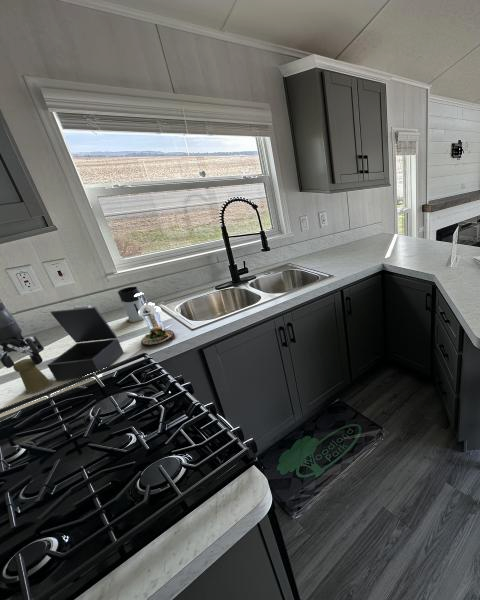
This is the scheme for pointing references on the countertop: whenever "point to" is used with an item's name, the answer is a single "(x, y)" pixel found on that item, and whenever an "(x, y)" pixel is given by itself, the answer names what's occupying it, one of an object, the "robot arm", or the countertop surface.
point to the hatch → (84, 324)
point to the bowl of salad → (157, 336)
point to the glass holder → (131, 302)
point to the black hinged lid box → (85, 359)
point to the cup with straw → (150, 313)
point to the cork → (31, 375)
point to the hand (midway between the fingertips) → (25, 364)
